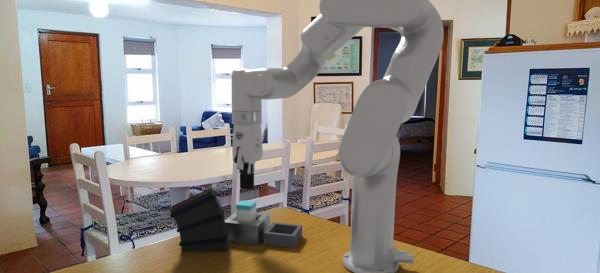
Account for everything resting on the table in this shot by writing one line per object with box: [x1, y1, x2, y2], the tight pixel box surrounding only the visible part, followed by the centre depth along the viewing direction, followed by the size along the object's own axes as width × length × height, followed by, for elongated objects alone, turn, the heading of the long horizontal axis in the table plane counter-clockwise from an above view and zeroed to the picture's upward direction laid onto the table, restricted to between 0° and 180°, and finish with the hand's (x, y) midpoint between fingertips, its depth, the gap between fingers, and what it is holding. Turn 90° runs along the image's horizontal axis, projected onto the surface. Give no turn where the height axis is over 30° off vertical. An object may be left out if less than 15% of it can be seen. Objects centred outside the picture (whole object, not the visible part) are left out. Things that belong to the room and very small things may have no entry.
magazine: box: [169, 187, 228, 252], centre depth 100 cm, size 4×13×15 cm, turn 94°
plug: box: [235, 199, 257, 223], centre depth 109 cm, size 4×4×9 cm
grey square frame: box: [263, 221, 303, 249], centre depth 107 cm, size 8×8×3 cm
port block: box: [224, 211, 271, 246], centre depth 109 cm, size 10×10×5 cm
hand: (247, 187), depth 107 cm, fingers closed
